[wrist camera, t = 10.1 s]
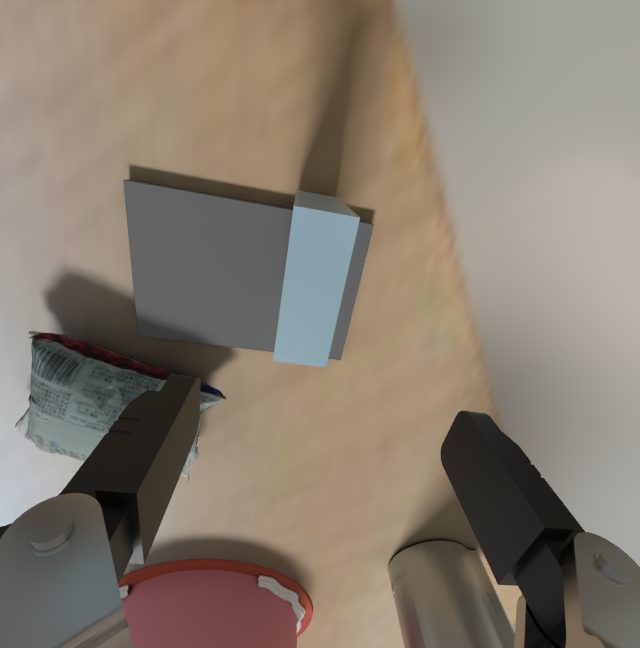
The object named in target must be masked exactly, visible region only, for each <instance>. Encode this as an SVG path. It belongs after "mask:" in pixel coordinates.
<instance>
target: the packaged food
mask: <svg viewBox="0 0 640 648" xmlns="http://www.w3.org/2000/svg"><path fill="white" fill-rule="evenodd" d="M29 334H31V335H32V337H30V338H32V346H31V351H32V372H31V394H30V396H29V399H28V400H29V402H30V404H29V405H30V407H29V408H28V410H27V411H26V413H25V414H24V416H23V417H21V419H20V421H18V422H17V423H16V426H15V429H16V430H17V431H19V432H20V433H22V434H23V435H25V438H27V439H28V440H29V441H30V442H33V443H34V444H35V445H36V446H37V447H38V448H39V449H40V450H42V451H45V452H49V453H58V454H60V455H66V456H69V457H72V458H75V459H78V460H81V461H86V459H87V458H88V457H89V455H90V454H91V453H92V451H93V450H94V449H95V447H96V446H97V445H98V443H99V442H100V441H101V439H102V438H103V437H104V435H105V434H107V433H108V431H109V429H110V428H111V426H112V425H113V424H114V422H115V421H116V420H118V417H119V416H120V414H121V413H122V412H123V410H124V409H125V408H126V406H127V405H128V404H129V402H130V401H132V400H133V399H135V398H136V397H138V396H139V395H141V394H142V393H144V392H145V391H147V390H152V391H160V390H161V388H162V387H163V385H164V384H165V382H166V381H167V379H168V378H169V376H170V375H172V374H175V375H181V374H177V373H173V372H170V371H167V370H164V369H161V368H157V367H152V366H150V365H144V364H142V363H140V362H138V361H136V360H134V359H131V358H128V357H125V356H122V355H120V354H117V353H114V352H111V351H108V350H105V349H103V348H100V347H98V346H95V345H92V344H89V343H86V342H83V341H80V340H77V339H74V338H72V337H69V336H66V335H60V334H53V333H41V332H36V331H29ZM184 376H185V375H184ZM200 383H201V385H200V419H199V426H198V431H197V434H196V438H195V440H194V443H193V445H192V448H191V450H190V453H189V455H188V458H187V460H186V462H185V465H184V467H183V470H182V472H181V475H180V477H187V478H188V480H189V465H190V462H192V463H193V462H194V461H195V460H196V459H197V456H198V447H196V445H197V440H198V436H199V430H200V424H201V419H202V415H203V413H204V410H205V409H206V408H208V407H211V406H213V405H215V404H217V403H219V402H221V401H223V400H225V399H226V397H225V396H223V394H222V393H221V392H220V391H219V390H217V389H215V388H213V387H211V386H209V385H208V384H206V383H205V382H203V381H201V380H200ZM190 458H191V459H190Z"/></svg>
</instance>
